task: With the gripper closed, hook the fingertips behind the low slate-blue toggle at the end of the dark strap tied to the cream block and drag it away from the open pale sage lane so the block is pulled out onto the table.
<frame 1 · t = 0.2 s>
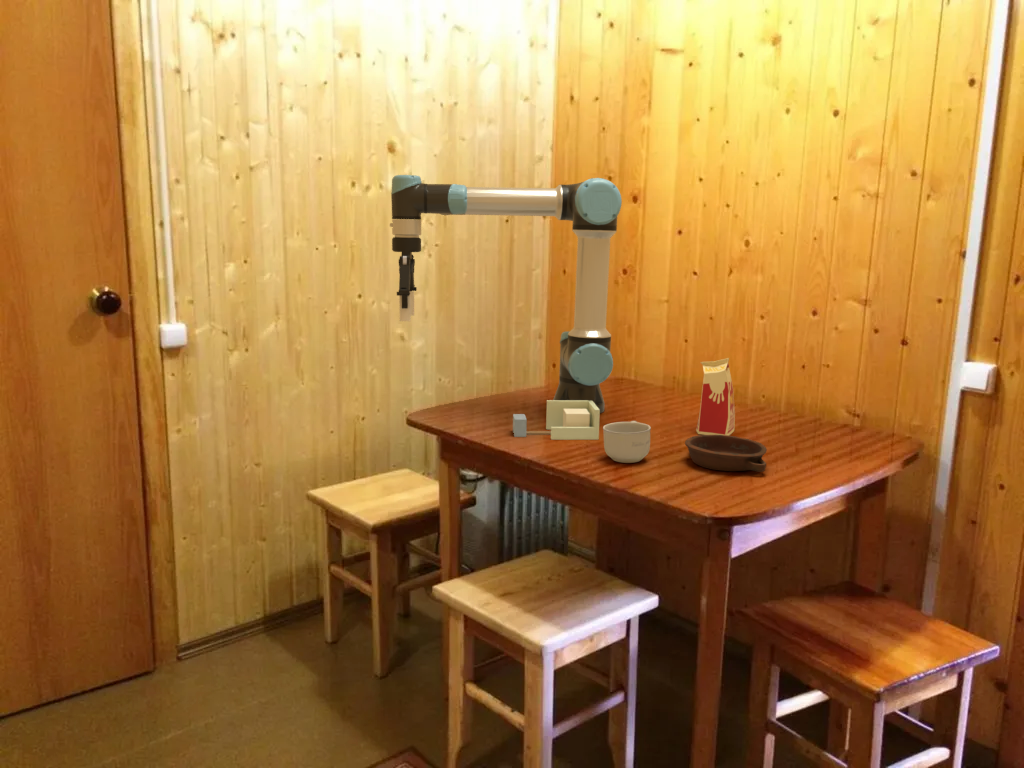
hand: (407, 318, 214), 28 cm above the table, fingers open, 13 cm apart
dish: (723, 465, 184), on the table
teacup: (628, 458, 187), on the table
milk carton: (713, 432, 213), on the table
shelf lane: (571, 433, 208), on the table
tethered block: (575, 433, 208), on the table
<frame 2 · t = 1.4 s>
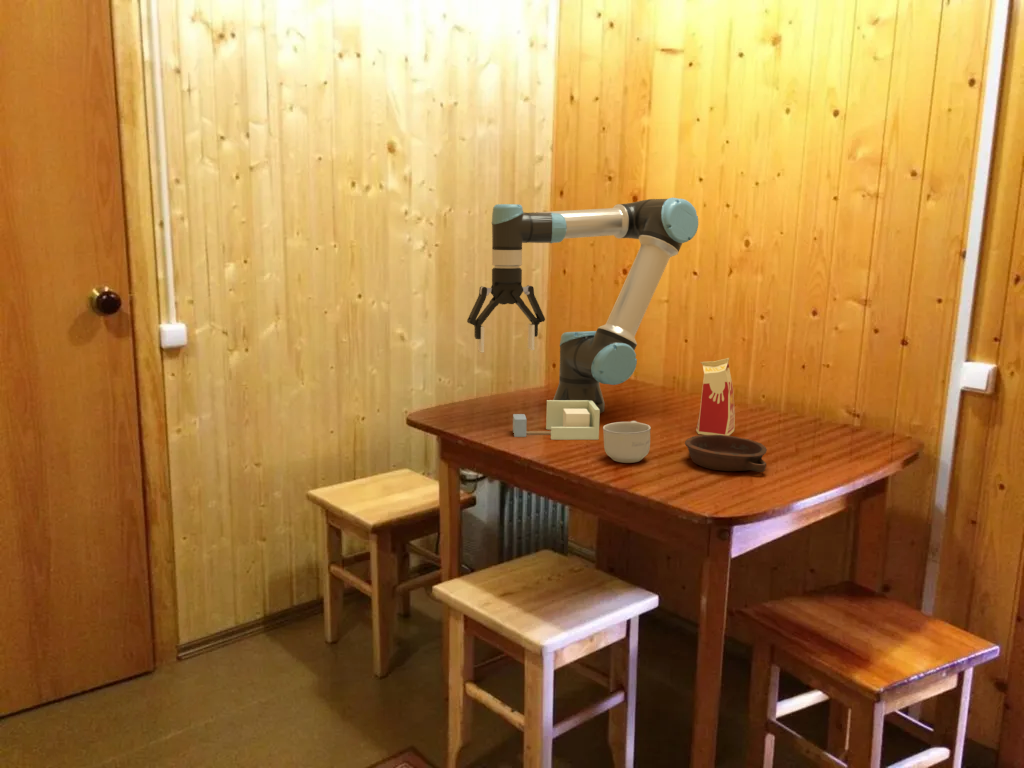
hand: (506, 350, 207), 21 cm above the table, fingers open, 13 cm apart
nothing on the table moved.
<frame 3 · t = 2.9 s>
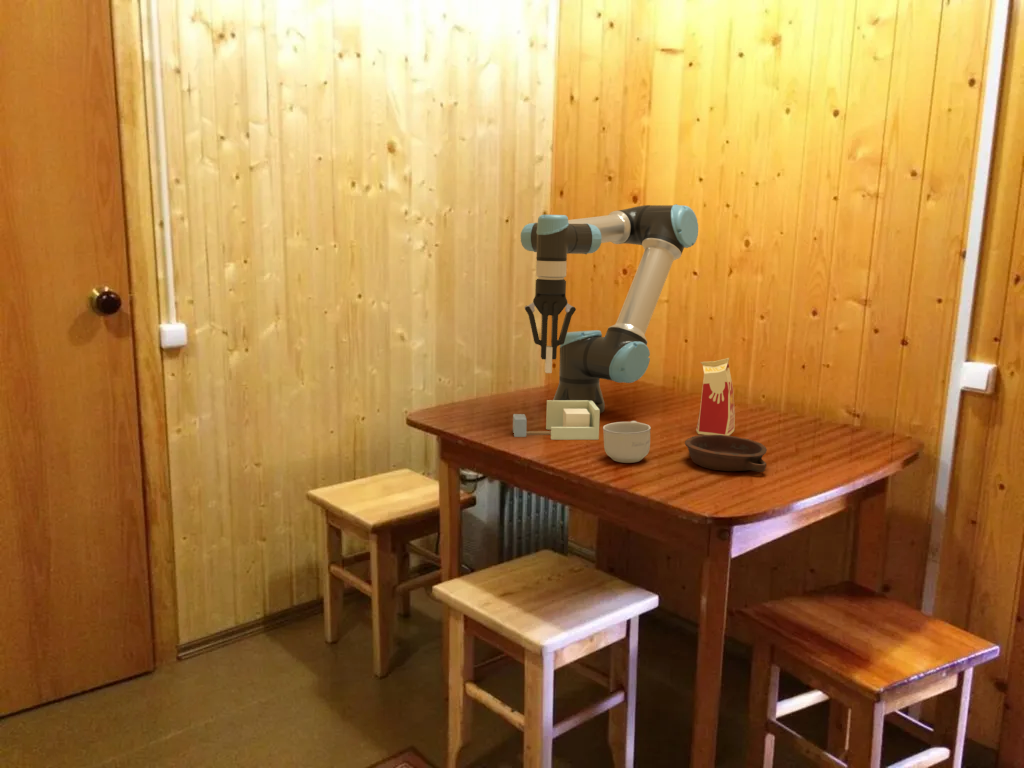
hand: (548, 372, 204), 16 cm above the table, fingers closed
nothing on the table moved.
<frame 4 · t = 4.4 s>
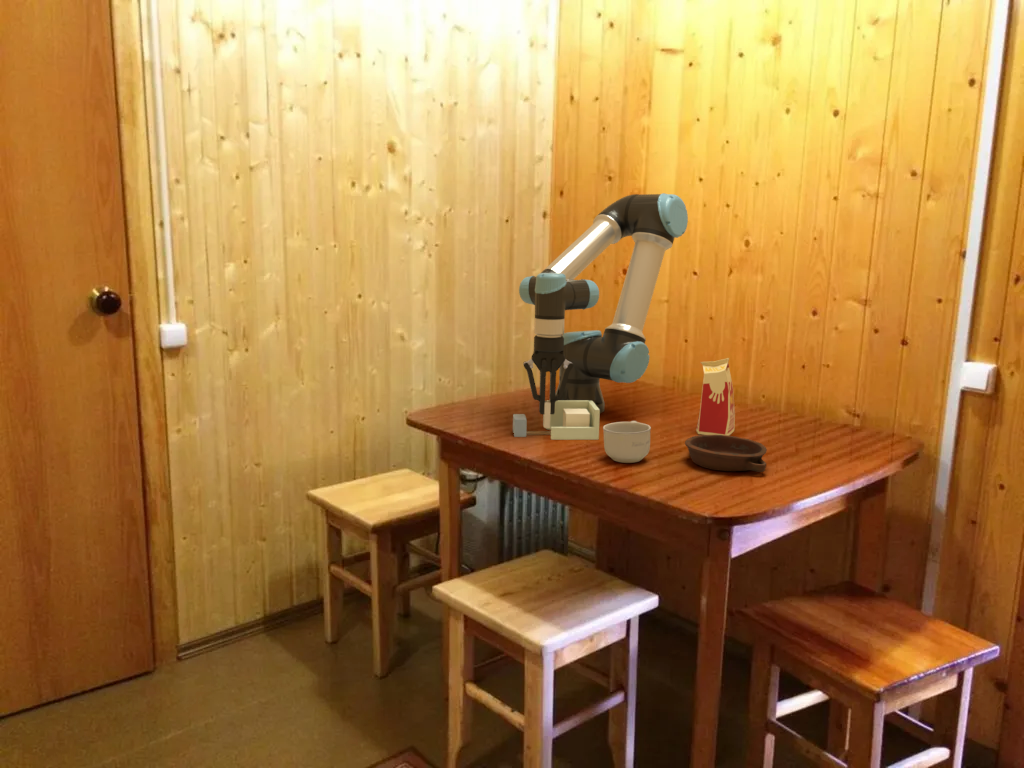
hand: (546, 426, 207), 2 cm above the table, fingers closed
nothing on the table moved.
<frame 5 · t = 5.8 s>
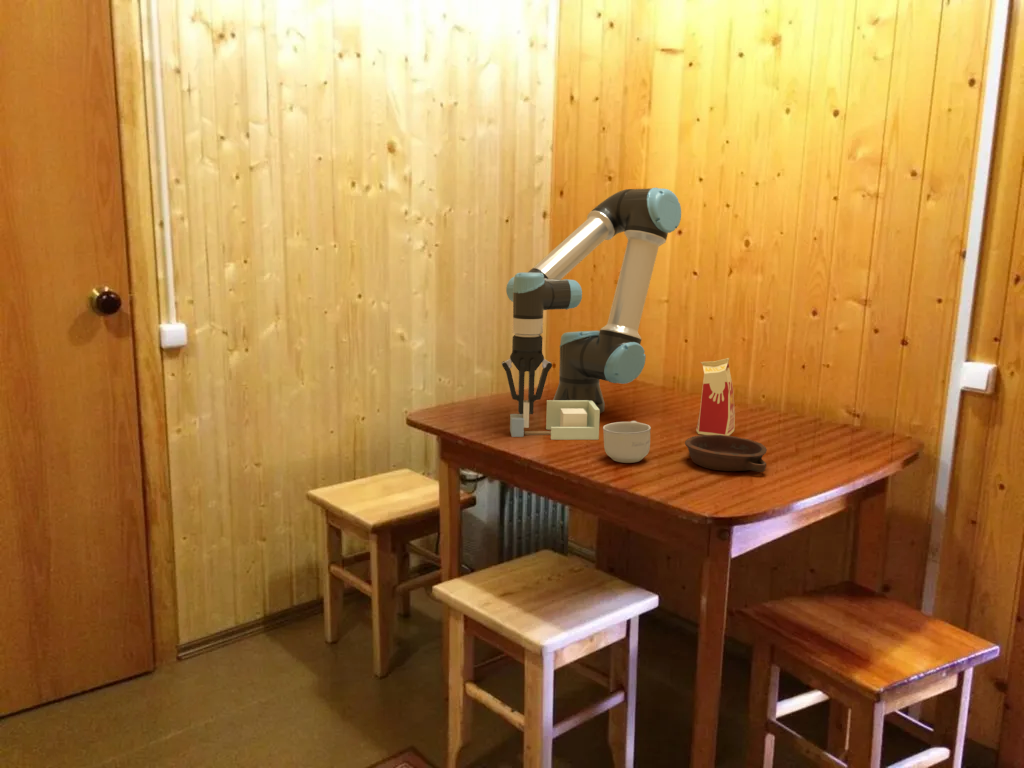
hand: (525, 426, 207), 2 cm above the table, fingers closed
tethered block: (572, 433, 208), on the table, touching gripper
everything else where it was.
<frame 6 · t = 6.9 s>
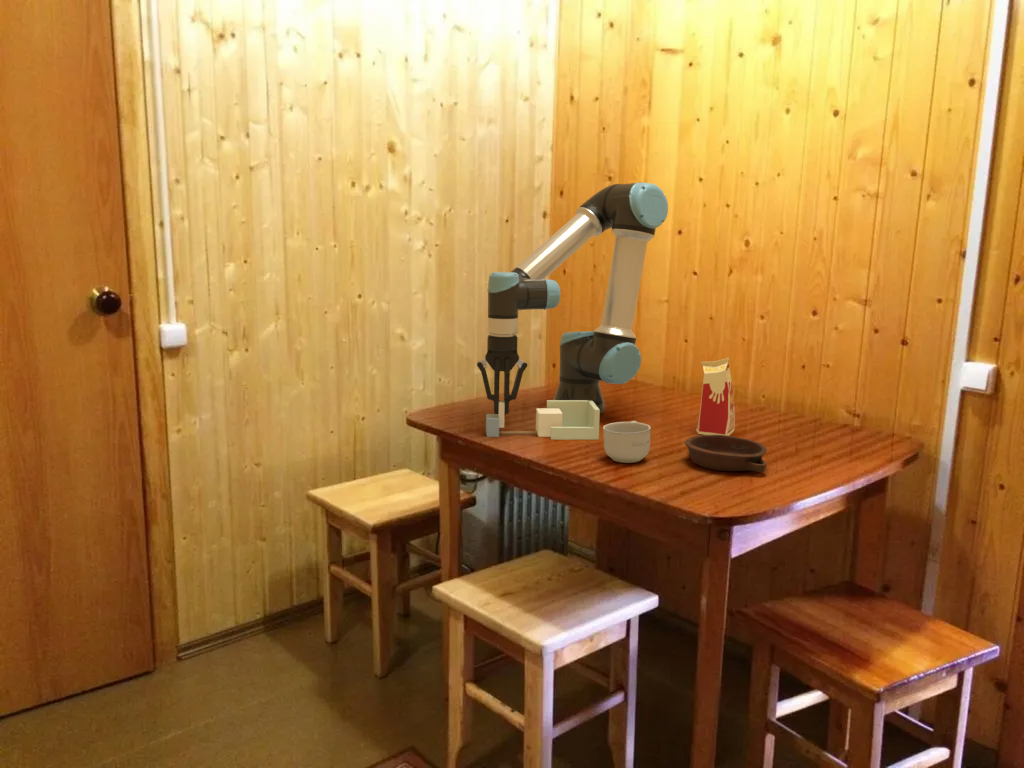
hand: (501, 426, 206), 2 cm above the table, fingers closed
tethered block: (548, 433, 208), on the table, touching gripper
everything else where it was.
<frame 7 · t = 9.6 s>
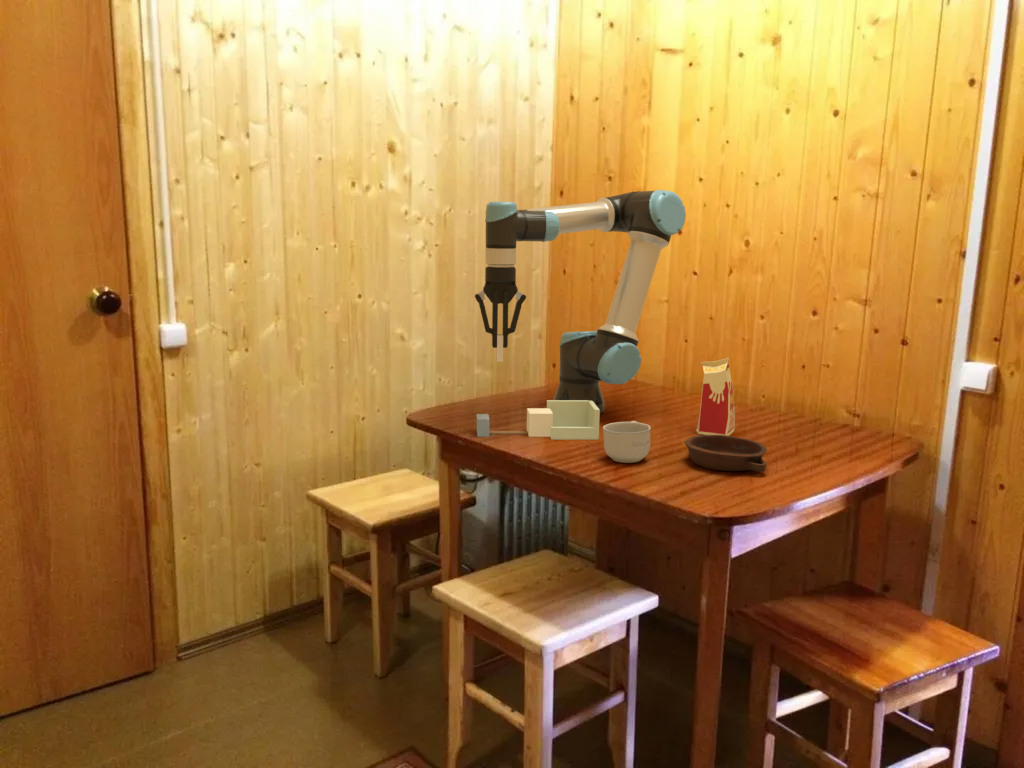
hand: (499, 360, 203), 19 cm above the table, fingers closed
tethered block: (539, 433, 208), on the table
everything else where it was.
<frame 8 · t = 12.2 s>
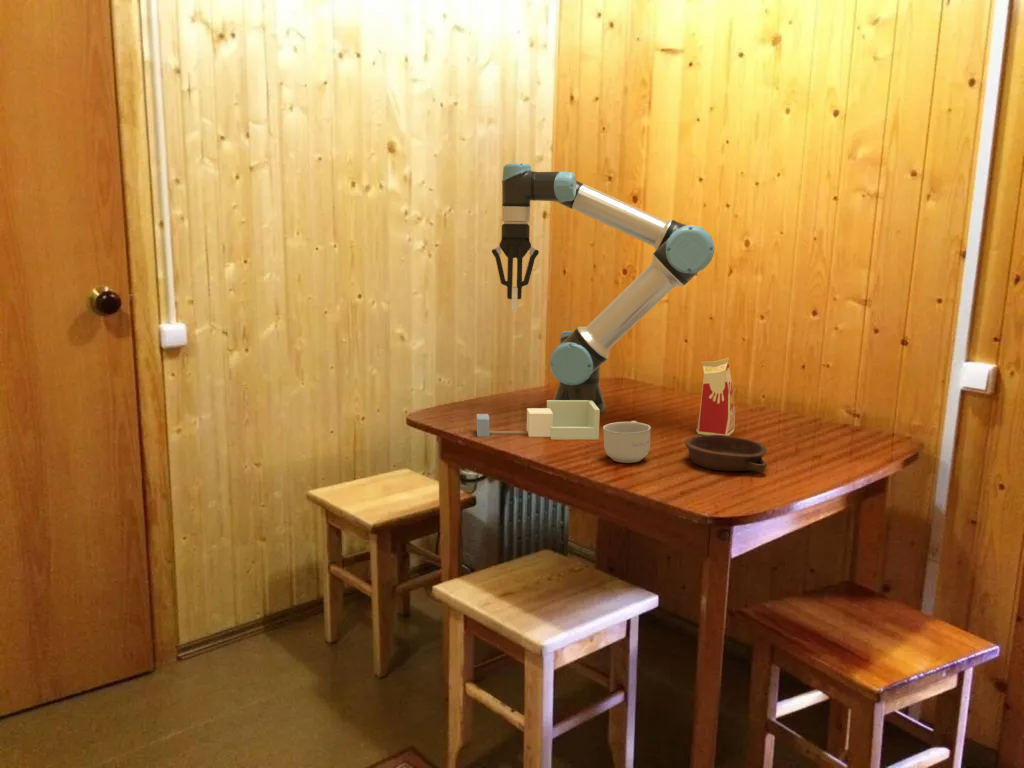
hand: (513, 311, 221), 29 cm above the table, fingers closed
nothing on the table moved.
at the end: tethered block inside the target area (12.4 cm from its centre), on the table; tethered block tilted 0° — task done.
